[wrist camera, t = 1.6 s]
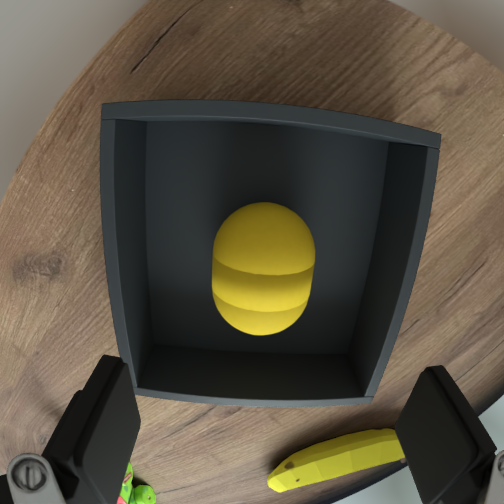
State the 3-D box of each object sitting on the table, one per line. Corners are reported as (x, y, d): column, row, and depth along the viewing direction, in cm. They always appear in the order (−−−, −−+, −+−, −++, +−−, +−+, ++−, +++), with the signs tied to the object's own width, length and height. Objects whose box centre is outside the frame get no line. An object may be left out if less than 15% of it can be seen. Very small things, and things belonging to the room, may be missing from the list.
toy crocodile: (169, 504, 36) (164, 535, 30) (132, 500, 36) (125, 529, 30) (108, 433, 29) (93, 474, 23) (65, 429, 29) (48, 465, 24)
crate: (140, 110, 18) (101, 103, 13) (395, 131, 18) (441, 134, 13) (148, 344, 24) (128, 393, 19) (351, 354, 25) (371, 403, 19)
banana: (246, 496, 27) (314, 509, 33) (398, 441, 22) (430, 463, 28) (244, 462, 31) (310, 483, 37) (384, 403, 26) (419, 435, 32)
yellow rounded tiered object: (219, 190, 19) (208, 212, 14) (311, 197, 19) (333, 221, 14) (215, 301, 22) (206, 351, 17) (296, 306, 22) (309, 356, 17)
